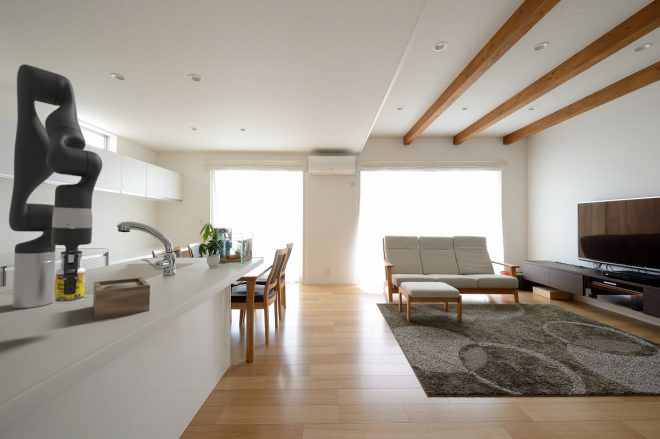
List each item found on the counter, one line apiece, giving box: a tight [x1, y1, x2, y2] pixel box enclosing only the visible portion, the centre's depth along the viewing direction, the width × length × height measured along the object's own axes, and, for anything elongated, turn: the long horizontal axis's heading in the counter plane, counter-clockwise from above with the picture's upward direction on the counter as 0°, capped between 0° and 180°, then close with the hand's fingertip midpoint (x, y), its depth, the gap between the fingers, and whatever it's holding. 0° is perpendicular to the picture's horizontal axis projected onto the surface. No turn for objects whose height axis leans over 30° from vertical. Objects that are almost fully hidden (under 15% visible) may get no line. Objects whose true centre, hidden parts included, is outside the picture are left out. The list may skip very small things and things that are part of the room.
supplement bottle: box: [53, 260, 86, 305], centre depth 70 cm, size 6×6×10 cm
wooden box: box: [92, 277, 151, 320], centre depth 88 cm, size 16×13×8 cm
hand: (70, 291), depth 70 cm, fingers closed on supplement bottle, 5 cm apart
